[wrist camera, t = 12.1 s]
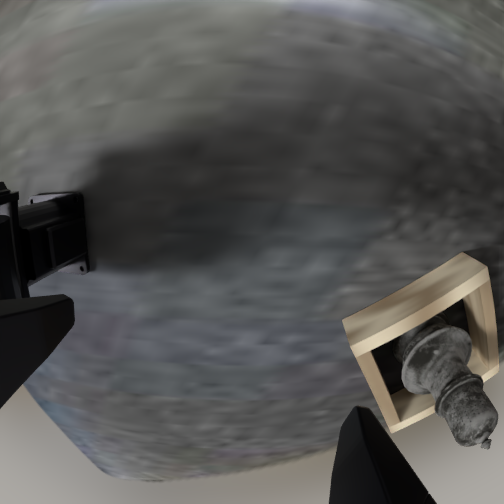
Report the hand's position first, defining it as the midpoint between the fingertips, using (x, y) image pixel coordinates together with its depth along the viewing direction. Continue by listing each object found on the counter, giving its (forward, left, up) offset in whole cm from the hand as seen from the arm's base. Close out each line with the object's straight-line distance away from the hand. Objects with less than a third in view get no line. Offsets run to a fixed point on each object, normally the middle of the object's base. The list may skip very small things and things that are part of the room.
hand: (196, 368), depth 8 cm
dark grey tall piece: (+14, -6, -13) cm, 20 cm away
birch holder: (+14, -6, -13) cm, 20 cm away
